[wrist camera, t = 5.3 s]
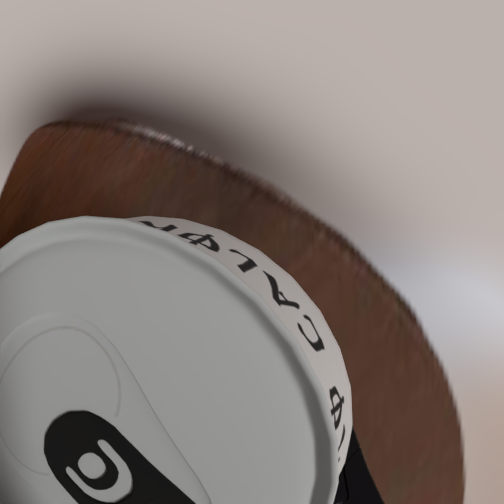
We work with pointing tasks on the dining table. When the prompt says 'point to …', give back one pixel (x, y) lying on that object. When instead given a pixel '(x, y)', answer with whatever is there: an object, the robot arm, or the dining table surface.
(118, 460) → the energy drink can
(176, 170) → the dining table surface
